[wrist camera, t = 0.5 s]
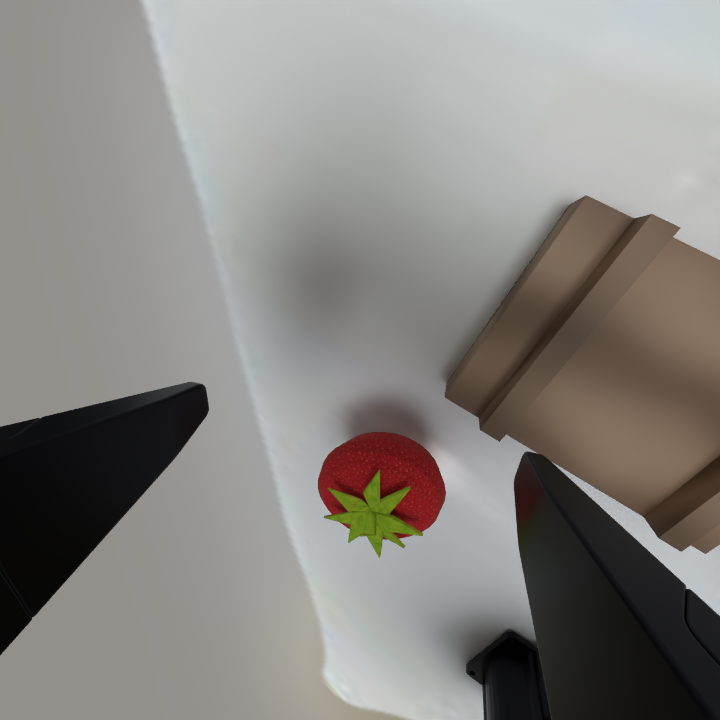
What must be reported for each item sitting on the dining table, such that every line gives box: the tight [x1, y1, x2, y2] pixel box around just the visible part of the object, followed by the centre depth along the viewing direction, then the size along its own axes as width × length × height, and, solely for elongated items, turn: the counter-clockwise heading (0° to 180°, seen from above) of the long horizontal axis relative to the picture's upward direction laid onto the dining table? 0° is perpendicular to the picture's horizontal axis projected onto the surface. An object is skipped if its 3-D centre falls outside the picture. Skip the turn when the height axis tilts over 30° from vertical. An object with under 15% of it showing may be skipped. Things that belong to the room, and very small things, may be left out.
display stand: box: [445, 195, 720, 554], centre depth 17 cm, size 12×16×4 cm
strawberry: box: [318, 432, 446, 557], centre depth 19 cm, size 6×8×10 cm
